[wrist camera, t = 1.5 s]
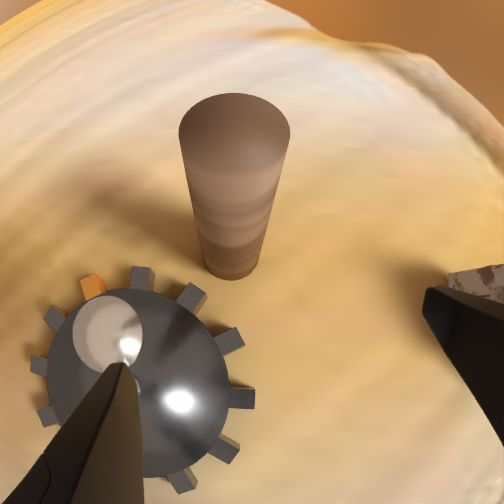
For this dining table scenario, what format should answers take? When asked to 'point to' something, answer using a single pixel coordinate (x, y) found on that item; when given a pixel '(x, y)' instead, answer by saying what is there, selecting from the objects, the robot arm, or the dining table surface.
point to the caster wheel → (480, 282)
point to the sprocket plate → (148, 370)
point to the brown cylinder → (233, 176)
